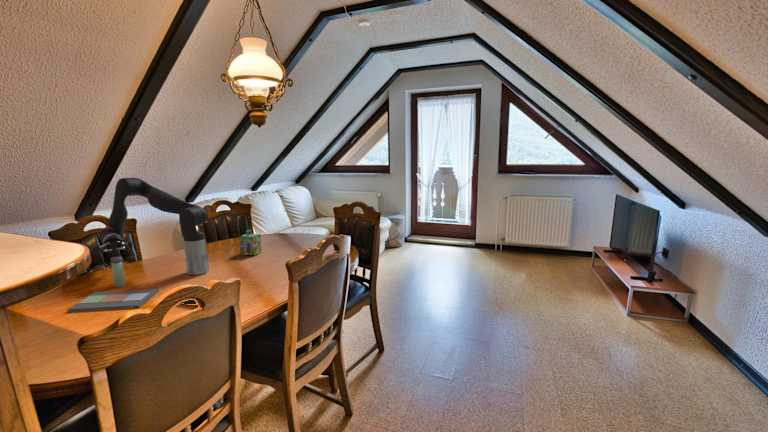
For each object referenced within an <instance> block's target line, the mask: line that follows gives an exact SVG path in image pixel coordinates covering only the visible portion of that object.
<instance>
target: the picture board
mask: <svg viewBox="0 0 768 432" xmlns="http://www.w3.org/2000/svg"><path fill="white" fill-rule="evenodd" d="M159 292H160V291H159V288H150V289H147V288H146V289H129V290H112V291H110V290H108V291H95V292H93V293H92V294H90V295H88V296H87V297H85V298H84V299H82V300H80V301H79V302H77V303H75V304H74V305H72V306H71V307H69V308H67V312H68V313H76V312H77V313H78V312H79V313H81V312H92V311H93V312H95V311H107V310H108V311H109V310H110V311H111V310H112V309H113V310H126V309H125V308H129V309H137V308H136V307H140V308H141V307H143V305H144V304H146V303H147V302H149V300H150V299H151V298H153V297H154V296H155V295H157V294H158V293H159ZM131 307H133V308H131Z"/></svg>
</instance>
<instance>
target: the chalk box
mask: <svg viewBox="0 0 768 432" xmlns="http://www.w3.org/2000/svg"><path fill="white" fill-rule="evenodd" d="M245 232H246V234H242V235H240V236H238V239H239V242H238V243H239V255H240V256H246V255H255V256H256V254H257V255H258V253H259V254H261V253H262V252H261V251H262V238H261V237H262V235H261V234H260V233H259V234H257V233H252V230H251V228H250V229H246V230H245ZM260 252H261V253H260Z"/></svg>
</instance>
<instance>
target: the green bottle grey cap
mask: <svg viewBox="0 0 768 432" xmlns="http://www.w3.org/2000/svg"><path fill="white" fill-rule="evenodd" d="M110 264H111V271H112V278H113V285H114V287H115V288H120V287H124V286H126V277H125V276H126V275H125V269H124V260H123V256H113V257H110Z"/></svg>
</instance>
